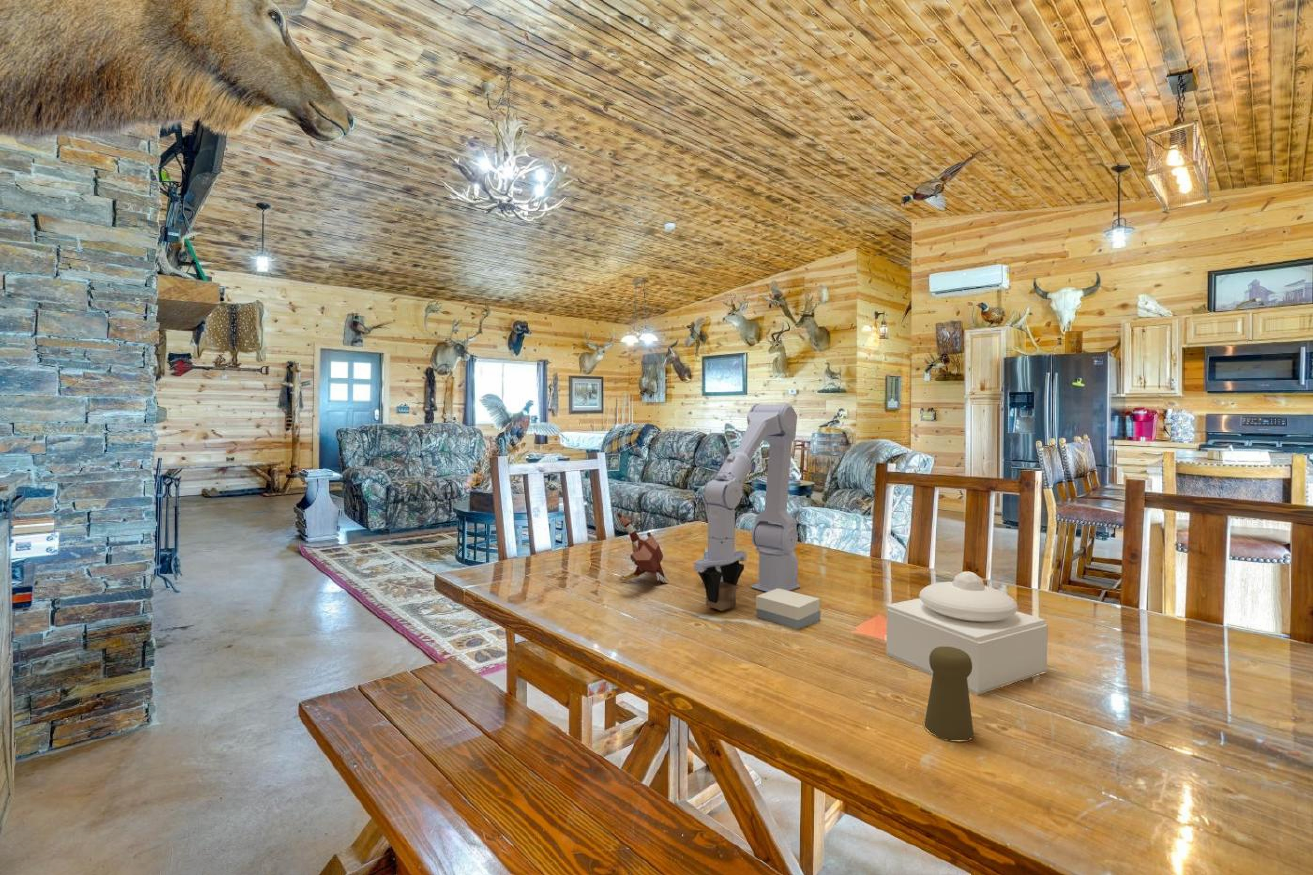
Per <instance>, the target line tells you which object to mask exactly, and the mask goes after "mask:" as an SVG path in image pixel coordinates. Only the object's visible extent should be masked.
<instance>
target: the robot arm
mask: <svg viewBox="0 0 1313 875" xmlns="http://www.w3.org/2000/svg"><path fill="white" fill-rule="evenodd" d="M746 416H747V417H746V422H747V427H746V430H745V432H744V434H743V435H742V438H741V440H740V442H739V445H738V446H737V448H736V451H734V452H731V453H729V454H728V455H727V457H726V458H725V460H724V462H723V464H722V465H721V467H720V469H719V470H718V472H717V475H715V477H714V479H711V480H709V481H708V482H707V483H706V484H705V485H704V487H703V490H702V491H703V492H702V493H701V499H702V502H703V504H704V505H705V507H704V508H705V510H704V511H705V512H706V515H707V549H708V554H705V557H704V556H703V558H701V559H698V560H694V561H693V571H694V572H697V574H698V575H699V577H700V578H701V580H702V584H703V587H704V586H705V588H704V589H705V594H706V593H707V597H708V601H710V602H713V603H717V601H718V595H719V584H720V580H721V577H723V582H725V583H729V584H733V585H738V581H739V579H740V577H741V575H742V573H743V572H744V570H745V565H744V564H742V563H740V562H747V561H748V560H747V557H748V556H747V554H748V553H747V551H743V550H738V551H737V550H736V548H735V544H736V542H735V539H736V538H735V537H736V530H735V528H736V525H735V524H736V507H737V506H738V505H740V502H741V499H742V491H743V487H744V486H743V485H744V484H743V483H744V482H745V480H746V478H747V476H748V475H749V473H750V471H751V469H752V462H751V458H753V456H754V454H755V453H756V451H757V450H758V448H759V446H760V445H761V444H762V442H763V441H764V440H766V442H767V443H768V445H769V448H768V449H769V450H768V462H767V473H766V474H767V475H766V484H765V485H766V486H765V488H766V490H765V500H764V510H762V511H761V512H759V514H757V515H755V517H754V518H755V519H754V520H755V521H754V525H753V527H752V529H751V536H750V538H751V542H752V544H753V545H754V546H755V550H756V551H758V583H755V584H751V585H750V588H752V589H756V590H759V591H761V592H762V591H763V592H765V593H766V592H769V591H772V590H774V589H777V588H779V589H783V590H787V591H793V590H796V589H798V588H801V586H802V585H801V584H798V581H799V580H798V574H799V571H798V570H799V561H798V557H797V555H796V553H795V552H794V550H795V549H796V548H797V545H798V540H799V534H798V528H797V520H796V519H795V518H794V517H793V516H792V515H791V514H790V513H789V512H788V500H789V499H788V498H789V497H788V496H789V487H790V486H789V484H790V472H791V471H790V470H791V460H792V459H791V458H792V450H793V449H792V446H793V441H794V440H795V439H796V435H797V423H798V422H797V421H798V414H797V412H796V411H795V408H794V407H793V405H792V404H789V403H785V404H760V403H759V404H758V403H754V404H753V405H752V406H751V407H750V409H749V411H748V413H747V415H746ZM735 550H736V552H735ZM716 567H720V568H721V572H719V571H717V569H716Z"/></svg>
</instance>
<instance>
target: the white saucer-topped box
mask: <svg viewBox="0 0 1313 875" xmlns="http://www.w3.org/2000/svg"><path fill="white" fill-rule="evenodd" d="M918 596H919V598H914V599H909V600H905V601H903V600H902V601H899V602H894V603H893V602H892V603H889V604H885V605H884V606H885V610H886V612H887V613H886V643H885V645H886V647H885V649H886V650H885V653H886V656H888V657H891V658H892V659H895V660H897V661H900V662H902V663H904V664H906V665H909V666H910V667H913V668H915V669H917V668H918V669H917V670H919V669H920V671H922V672H924V673H926V672H927V674H928V673H929V675H930V676H933V671H932V669H931V667H930V663H929V656H930V653H931V652H932V650H933V649H934V648H937V647H942V646H945V647H953V648H957V649H960V650H962V651H964V652H966V653H967V654H968V655H969V657H970V658H971V662H972V671H971V674H970V675H969V676H968V677H967V682H968V691H969V693H971V692H972V693H971V694H973V693H974V694H973V695H975V694H976V695H975V696H979V695H978V694H980V695H983V694H982V693H984V694H986V693H985V692H987V691H990V690H993V689H996V688H999V687H1001V686H1005V685H1007V684H1009V683H1012V682H1016V681H1019V680H1023V679H1026V678H1029V677H1032V676H1034V675H1037V674H1040V673H1042V672H1046V673H1047V669H1048V667H1047V666H1048V642H1049V641H1048V640H1049V636H1048V635H1049V634H1048V633H1049V624H1046V619H1043V618H1041V617H1037V616H1034V615H1030V614H1027V613H1025V612H1020V611H1018V609H1019V606H1018V603H1017V601H1015V599H1013V598H1012V596H1010V595H1008V593H1005V592H1003V591H1001V590H999V589H996V588H994V587H991V586H987V585H985V584H984V581H983V578H982V577H980V576H979V575H978V574H976V573H975V572H972V571H969V570H968V571H962V572H960V573H959V574H956V575H955V576H954V579H953V580H952V581H942V582H935V583H931V584H928V585H927V586H925V587H924V588H922V589H921V590H920V592H919V595H918ZM1032 678H1033V677H1032ZM1029 679H1030V678H1029ZM1026 680H1027V679H1026ZM1023 681H1024V680H1023ZM1005 687H1006V686H1005ZM999 689H1000V688H999ZM996 690H997V689H996ZM993 691H994V690H993ZM990 692H991V691H990ZM987 693H988V692H987Z"/></svg>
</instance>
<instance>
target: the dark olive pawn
mask: <svg viewBox="0 0 1313 875" xmlns="http://www.w3.org/2000/svg"><path fill="white" fill-rule="evenodd" d="M929 663H930V667H931V669H932V671H933V675H932V677H931V684H930V690H929V697H928V701H927V706H926V713H925V718H924V723H925V727H926V728H927V729H928V730H929V731H930V732H931V733H933V734H935V735H936V736H938V737H940V738H943V739H947V740H969V739H970V738H972V737H973V735H975V734H974V727H973V716H972V709H971V702H970V692H969V691H968V682H967V677H968V676H969V675H970V674H971V671H972V662H971V658H970V657H969V655H968V654H967V653H966V652H964V651H962V650H960V649H957V648H953V647H945V646H942V647H937V648H934V649H933V650H932V652H931V653H930V656H929ZM925 727H924V728H925ZM940 738H939V739H940ZM973 738H974V737H973ZM943 739H942V740H943Z"/></svg>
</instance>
